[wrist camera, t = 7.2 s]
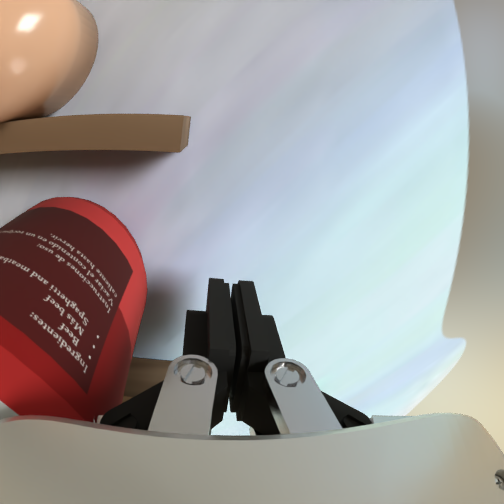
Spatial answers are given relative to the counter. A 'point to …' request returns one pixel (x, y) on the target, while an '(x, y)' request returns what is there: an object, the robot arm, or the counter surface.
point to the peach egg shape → (43, 55)
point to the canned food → (67, 310)
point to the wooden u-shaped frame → (104, 138)
